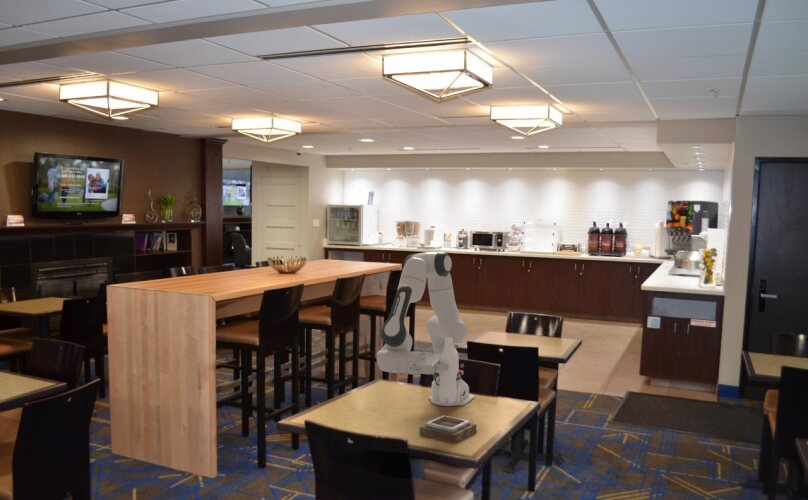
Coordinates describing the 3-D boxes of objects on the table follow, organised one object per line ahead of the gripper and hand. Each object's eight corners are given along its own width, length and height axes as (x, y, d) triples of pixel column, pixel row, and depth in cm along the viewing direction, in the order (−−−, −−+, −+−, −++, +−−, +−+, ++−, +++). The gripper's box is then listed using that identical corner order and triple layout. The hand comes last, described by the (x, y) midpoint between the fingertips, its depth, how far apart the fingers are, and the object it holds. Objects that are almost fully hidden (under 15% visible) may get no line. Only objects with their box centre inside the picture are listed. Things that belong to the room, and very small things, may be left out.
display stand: (442, 424, 264) (442, 413, 264) (476, 431, 255) (476, 420, 255) (419, 434, 251) (419, 423, 251) (454, 443, 242) (454, 431, 242)
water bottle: (437, 399, 256) (438, 336, 255) (455, 399, 257) (456, 336, 255) (439, 404, 249) (440, 340, 247) (458, 404, 249) (459, 340, 248)
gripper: (408, 360, 245) (444, 362, 242) (422, 350, 265) (455, 352, 261) (408, 377, 246) (444, 379, 242) (422, 365, 265) (455, 367, 261)
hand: (450, 365), depth 252 cm, fingers closed on water bottle, 7 cm apart
